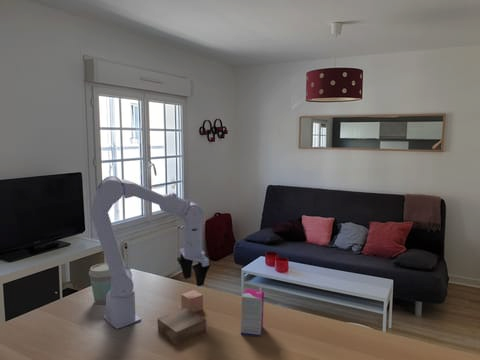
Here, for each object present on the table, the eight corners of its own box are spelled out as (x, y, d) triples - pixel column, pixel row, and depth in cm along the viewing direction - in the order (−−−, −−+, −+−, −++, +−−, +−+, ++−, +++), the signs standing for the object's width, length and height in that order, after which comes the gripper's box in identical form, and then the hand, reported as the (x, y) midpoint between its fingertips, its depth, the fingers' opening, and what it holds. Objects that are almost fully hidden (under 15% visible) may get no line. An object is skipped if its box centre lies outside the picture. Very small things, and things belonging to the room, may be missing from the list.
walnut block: (157, 331, 111) (157, 318, 111) (186, 319, 118) (186, 307, 117) (176, 345, 104) (176, 332, 103) (206, 332, 111) (205, 319, 110)
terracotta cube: (181, 308, 125) (181, 294, 124) (194, 304, 128) (193, 289, 127) (190, 314, 121) (190, 299, 120) (203, 309, 124) (202, 294, 124)
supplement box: (261, 337, 108) (261, 298, 106) (240, 334, 109) (240, 296, 107) (263, 326, 113) (264, 289, 112) (244, 324, 114) (244, 288, 113)
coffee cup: (106, 293, 136) (105, 261, 134) (122, 299, 131) (120, 266, 129) (85, 302, 129) (83, 268, 127) (100, 309, 124) (98, 273, 122)
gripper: (216, 243, 118) (217, 285, 120) (191, 233, 129) (192, 272, 131) (197, 248, 113) (198, 291, 115) (172, 237, 124) (174, 277, 126)
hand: (193, 281), depth 123 cm, fingers open, 7 cm apart
